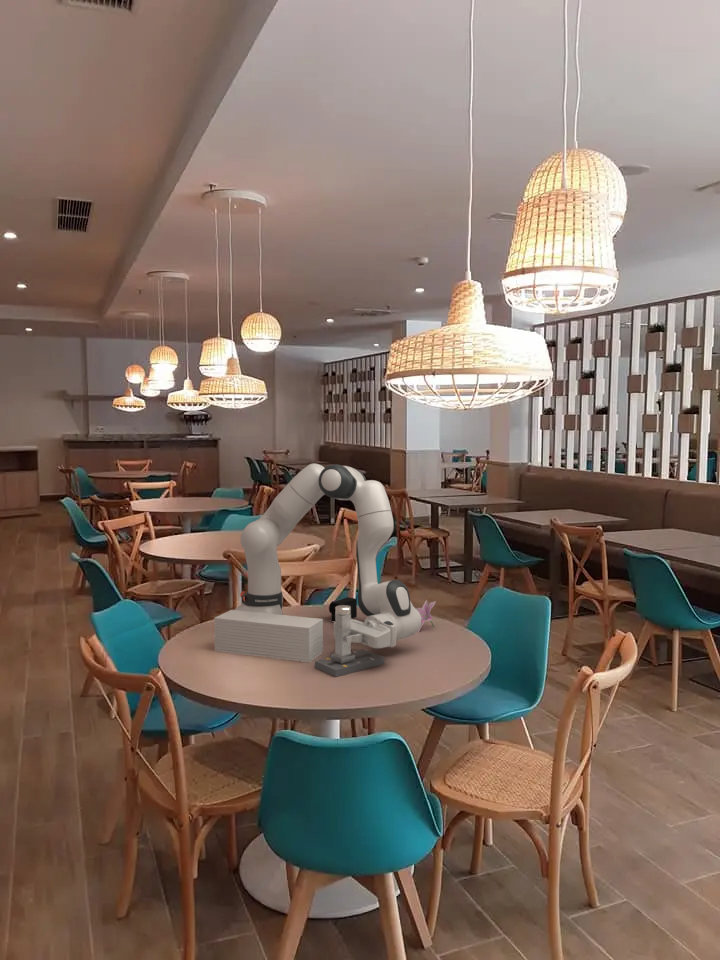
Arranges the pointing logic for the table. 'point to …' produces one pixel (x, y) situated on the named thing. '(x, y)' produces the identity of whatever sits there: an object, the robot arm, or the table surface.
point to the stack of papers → (269, 635)
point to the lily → (426, 613)
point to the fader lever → (342, 635)
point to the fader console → (350, 663)
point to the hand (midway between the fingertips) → (340, 637)
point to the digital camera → (346, 601)
